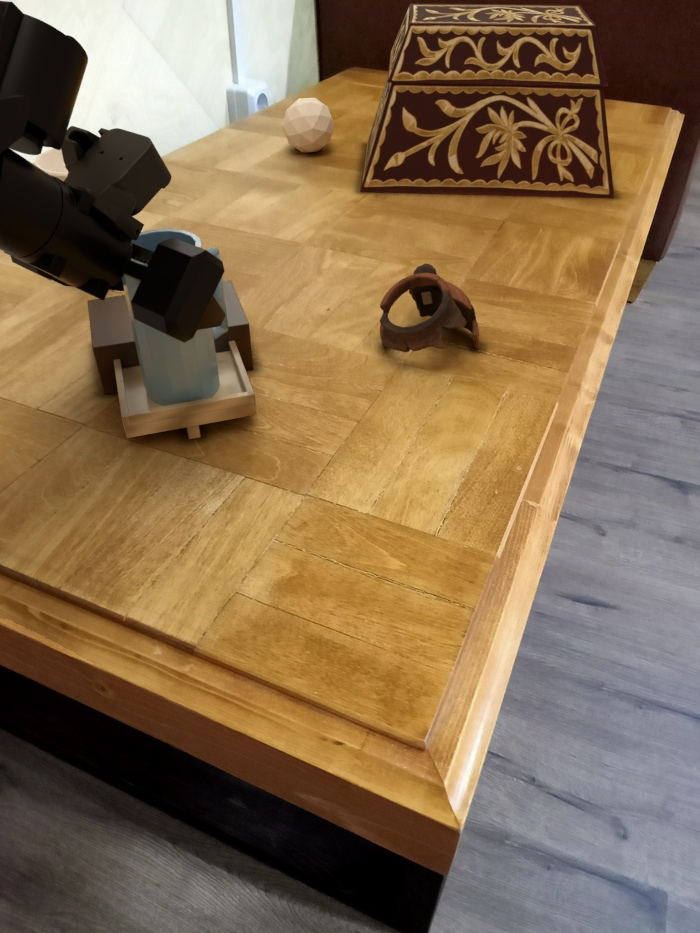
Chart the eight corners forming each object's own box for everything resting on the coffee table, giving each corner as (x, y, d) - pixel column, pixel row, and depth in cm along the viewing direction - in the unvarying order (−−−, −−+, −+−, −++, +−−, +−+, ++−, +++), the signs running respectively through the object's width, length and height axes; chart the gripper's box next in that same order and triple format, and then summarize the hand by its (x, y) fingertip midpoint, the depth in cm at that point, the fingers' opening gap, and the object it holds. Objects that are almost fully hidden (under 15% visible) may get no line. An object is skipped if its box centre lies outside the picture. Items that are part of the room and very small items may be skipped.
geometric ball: (323, 167, 123) (352, 128, 118) (285, 160, 118) (314, 119, 112) (303, 131, 125) (331, 91, 120) (265, 122, 120) (292, 80, 114)
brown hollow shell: (495, 368, 75) (469, 315, 69) (406, 402, 78) (372, 354, 72) (471, 283, 82) (445, 228, 76) (390, 317, 85) (358, 266, 79)
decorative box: (360, 191, 108) (361, 28, 95) (366, 145, 123) (368, -2, 110) (614, 197, 107) (651, 32, 93) (589, 149, 121) (618, 1, 108)
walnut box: (111, 454, 65) (98, 405, 62) (98, 344, 78) (87, 300, 75) (274, 423, 68) (271, 376, 65) (235, 323, 81) (231, 279, 78)
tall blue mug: (181, 416, 65) (156, 272, 56) (130, 389, 67) (99, 249, 59) (256, 368, 70) (242, 230, 62) (205, 345, 73) (186, 211, 65)
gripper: (183, 129, 45) (311, 243, 59) (-2, 76, 54) (147, 187, 68) (103, 301, 46) (248, 375, 60) (-68, 222, 54) (94, 302, 68)
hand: (181, 302), depth 64 cm, fingers open, 9 cm apart
